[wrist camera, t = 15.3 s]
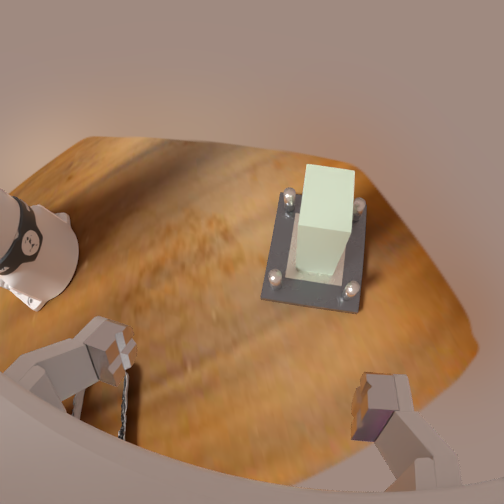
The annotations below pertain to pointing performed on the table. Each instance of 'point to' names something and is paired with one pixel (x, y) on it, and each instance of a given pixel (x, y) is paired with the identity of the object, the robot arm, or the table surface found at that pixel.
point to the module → (324, 218)
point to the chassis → (308, 283)
